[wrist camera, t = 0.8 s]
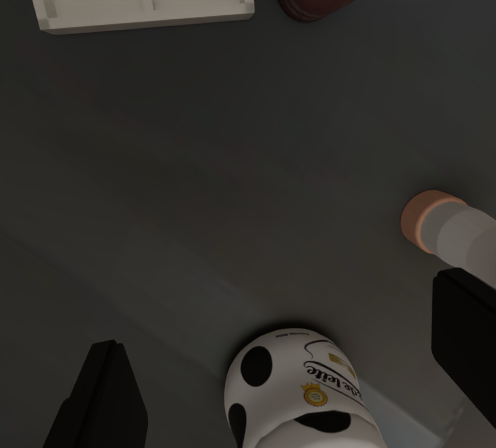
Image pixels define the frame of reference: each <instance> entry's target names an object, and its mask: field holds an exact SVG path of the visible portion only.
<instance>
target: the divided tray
mask: <svg viewBox="0 0 496 448" xmlns="http://www.w3.org/2000/svg"><path fill="white" fill-rule="evenodd" d="M33 4H34V8H35V11H36V15H37V19H38V23H39V27H40V30H42V31H45V32H47V33H50V34H52V35H65V34H78V33H90V32H102V31H115V30H127V29H139V28H151V27H164V26H176V25H188V24H201V23H213V22H225V21H237V20H249V19H250V18H251V17H252V15H253V14H254V13H255V11H254V0H33Z"/></svg>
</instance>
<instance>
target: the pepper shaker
mask: <svg viewBox="0 0 496 448" xmlns="http://www.w3.org/2000/svg"><path fill="white" fill-rule="evenodd" d="M400 225H401V230H402V233H403V234H404V236H405V237H406V238H407V239H408V240H409V241H411V242H412V243H414V244H415V245H417V246H418V247H420V248H421V249H422V250H424V251H425V252H427V253H431V254H435V255H436V256H438V257H439V258H440V259H442V260H443V261H445V262H446V263H448V264H450V265H452V266H454V267H460V268H463V269H464V270H466V271H467V272H469V273H471V274H473V275H475V276H477V277H479V278H480V279H482V280H483V281H485V282H486V283H488V284H489V285H491V286H492V287H494V288H496V220H494V219H493V218H491V217H490V216H488V215H487V214H486V213H484V212H483V211H480V210H478V209H475V208H472V207H470V206H468V205H467V204H466V203H465V202H464V201H462V200H461V199H459V198H457V197H454V196H452V195H449V194H447V193H444V192H441V191H438V190H428V191H425V192H422V193H420V194H418V195H416V196H415V197H414V198H412V199H411V200H410V201H409V203H408V204H407V205H406V206H405V208H404V210H403V213H402V215H401V222H400Z"/></svg>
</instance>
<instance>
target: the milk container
mask: <svg viewBox="0 0 496 448" xmlns="http://www.w3.org/2000/svg"><path fill="white" fill-rule="evenodd" d="M224 404H225V412H226V417H227V420H228V423H229V426H230V428H231V431H232V433H233V435H234V437H235V439H236V442H237V447H238V448H388V446H387V445H386V443H385V441H384V439H383V438H382V436H381V434H380V431H379V428H378V427H377V425H376V423H375V421H374V419H373V418H372V416H371V415H370V413H369V411H368V410H367V408H366V406H365V404H364V403H363V400H362V398H361V394H360V389H359V384H358V380H357V377H356V374H355V372H354V369H353V367H352V365H351V363H350V362H349V360H348V359H347V357H346V356H345V354H344V353H343V352H342V351H341V350H340V349H339V347H338V346H337V345H335V344H334V343H333V342H332V341H331V340H330V339H329V338H327V337H326V336H324V335H322V334H320V333H318V332H315V331H311V330H307V329H303V328H284V329H278V330H274V331H271V332H269V333H266V334H263V335H261V336H259V337H257V338H256V339H254V340H253V341H251V342H250V343H249V344H248V345H246V346H245V347H244V348H243V349H242V350H241V351H240V352H239V353H238V355H237V356H236V358H235V359H234V361H233V362H232V364H231V366H230V368H229V371H228V373H227V377H226V383H225V391H224Z"/></svg>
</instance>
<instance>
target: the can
mask: <svg viewBox="0 0 496 448" xmlns="http://www.w3.org/2000/svg"><path fill="white" fill-rule="evenodd" d="M279 1H280V3H281V5H282V7H283V9H284V11H285V12H286V13H287V14H288V15H289V16H290V17H291V18H293V19H296V20H298V21H300V22H313V21H316V20H319V19H321V18H323V17H325V16H327V15H328V14H330V13H332V12H334V11H336V10H338V9H340V8H341V7H343V6H345V5H347V4H349V3H351V2H353V1H354V0H279Z"/></svg>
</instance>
